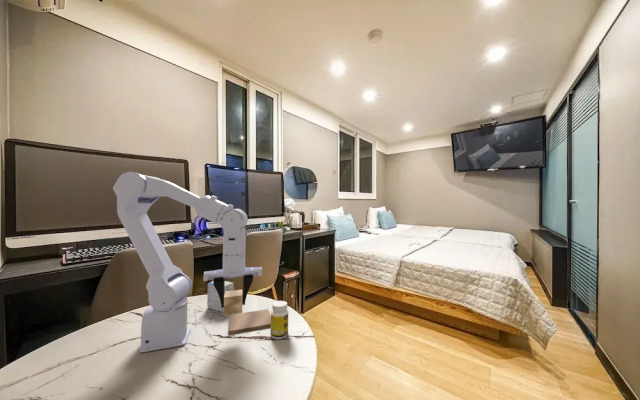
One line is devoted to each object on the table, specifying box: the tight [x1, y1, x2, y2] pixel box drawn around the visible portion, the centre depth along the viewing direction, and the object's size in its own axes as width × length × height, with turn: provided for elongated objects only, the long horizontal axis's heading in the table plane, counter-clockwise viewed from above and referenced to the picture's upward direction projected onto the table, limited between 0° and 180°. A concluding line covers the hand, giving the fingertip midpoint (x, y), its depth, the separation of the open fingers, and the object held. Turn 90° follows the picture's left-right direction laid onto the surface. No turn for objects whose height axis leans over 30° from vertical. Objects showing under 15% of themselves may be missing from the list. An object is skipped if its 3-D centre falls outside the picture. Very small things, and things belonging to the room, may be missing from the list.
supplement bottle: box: [270, 300, 289, 340], centre depth 62 cm, size 5×5×8 cm
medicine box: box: [206, 280, 235, 313], centre depth 78 cm, size 8×4×9 cm, turn 65°
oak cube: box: [223, 289, 243, 316], centre depth 61 cm, size 4×4×4 cm
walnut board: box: [228, 308, 271, 335], centre depth 69 cm, size 12×10×1 cm
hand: (233, 304), depth 61 cm, fingers closed on oak cube, 4 cm apart
